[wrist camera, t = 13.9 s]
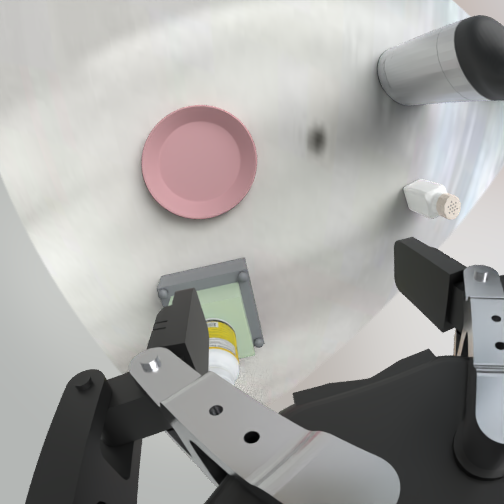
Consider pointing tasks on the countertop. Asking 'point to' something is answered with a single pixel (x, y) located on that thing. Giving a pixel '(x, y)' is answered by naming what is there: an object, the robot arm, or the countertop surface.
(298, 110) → the countertop surface
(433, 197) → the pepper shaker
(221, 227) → the countertop surface
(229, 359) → the supplement bottle
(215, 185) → the plate
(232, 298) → the sponge in grey tray
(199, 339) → the robot arm
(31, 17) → the countertop surface
